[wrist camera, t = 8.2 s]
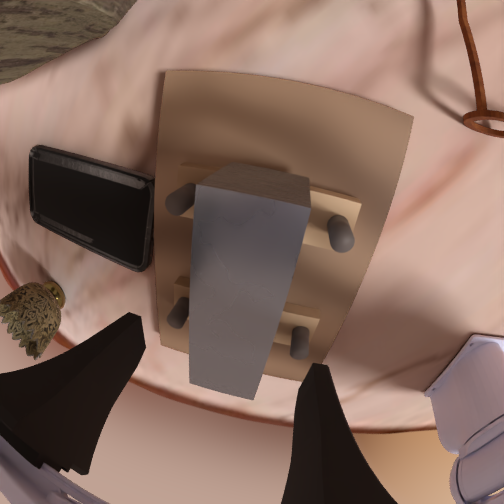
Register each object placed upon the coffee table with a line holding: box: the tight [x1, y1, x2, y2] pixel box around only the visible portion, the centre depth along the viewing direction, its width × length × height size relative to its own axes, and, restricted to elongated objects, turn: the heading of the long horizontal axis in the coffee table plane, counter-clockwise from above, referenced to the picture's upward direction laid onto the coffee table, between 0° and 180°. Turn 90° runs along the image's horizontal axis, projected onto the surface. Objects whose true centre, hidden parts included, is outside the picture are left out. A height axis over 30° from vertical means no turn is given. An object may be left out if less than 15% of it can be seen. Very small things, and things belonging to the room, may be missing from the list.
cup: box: [0, 281, 65, 360], centre depth 22 cm, size 8×7×8 cm
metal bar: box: [189, 162, 311, 400], centre depth 14 cm, size 12×4×5 cm, turn 171°
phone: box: [29, 145, 155, 272], centre depth 19 cm, size 8×1×15 cm
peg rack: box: [154, 71, 414, 382], centre depth 16 cm, size 22×14×4 cm, turn 171°
